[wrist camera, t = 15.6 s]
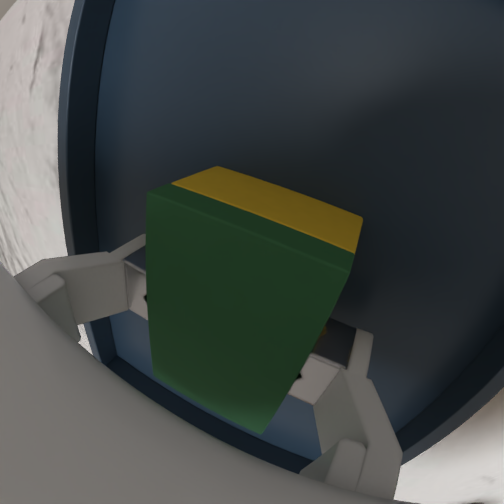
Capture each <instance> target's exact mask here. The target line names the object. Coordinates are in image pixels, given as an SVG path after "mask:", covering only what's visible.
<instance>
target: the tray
mask: <svg viewBox="0 0 504 504" xmlns="http://www.w3.org/2000/svg"><path fill="white" fill-rule="evenodd" d="M216 166H219V167H223V168H226V169H229V170H232V171H236V172H239V173H242V174H245V175H248V176H251V177H254V178H257V179H260V180H263V181H266V182H269V183H272V184H275V185H278V186H281V187H284V188H287V189H289V190H292V191H295V192H298V193H301V194H303V195H306V196H309V197H312V198H314V199H317V200H320V201H322V202H325V203H328V204H330V205H333V206H335V207H338V208H340V209H343V210H346V211H348V212H351V213H353V214H356V215H358V216H361V217H362V218H363V223H362V227H361V231H360V235H359V239H358V243H357V247H356V251H355V255H354V260H353V264H352V267H351V271H350V274H349V277H348V279H347V281H346V283H345V285H344V287H343V290H342V292H341V294H340V296H339V298H338V300H337V302H336V304H335V306H334V308H333V310H332V312H331V314H330V316H329V317H330V318H333V319H335V320H337V321H340V322H342V323H345V324H347V325H350V326H352V327H355V328H359V329H361V330H364V331H367V332H369V333H372V334H373V343H372V350H371V356H370V362H369V367H368V373H367V378H368V379H371V380H372V382H373V385H374V387H375V389H376V391H377V393H378V396H379V398H380V400H381V402H382V405H383V407H384V409H385V412H386V414H387V416H388V419H389V421H390V423H391V426H392V428H393V430H394V433H395V435H396V437H397V440H398V442H399V445H400V447H401V450H402V452H403V455H402V461H401V465H403V464H405V463H406V462H408V461H410V460H411V459H413V458H415V457H416V456H418V455H419V454H421V453H422V452H424V451H426V450H427V449H429V448H430V447H432V446H433V445H434V444H436V443H437V442H439V441H440V440H442V439H443V438H444V437H446V436H447V435H448V434H450V433H451V432H452V431H454V430H455V429H456V428H458V427H459V426H460V425H462V424H463V423H464V422H465V421H467V420H468V419H469V418H470V417H471V416H473V415H474V414H475V413H476V412H477V411H478V410H480V409H481V408H482V407H483V406H484V405H485V404H486V403H487V402H489V401H490V400H491V399H492V398H493V397H494V396H495V395H496V394H497V393H498V392H499V391H500V390H501V389H502V388H503V387H504V0H75V3H74V7H73V11H72V15H71V19H70V24H69V29H68V34H67V39H66V45H65V51H64V58H63V65H62V74H61V83H60V95H59V110H58V172H59V188H60V200H61V210H62V219H63V227H64V234H65V241H66V247H67V253H68V256H73V255H81V254H89V253H97V252H105V251H107V252H108V253H111V252H112V251H114V250H116V249H117V248H119V247H121V246H123V245H124V244H126V243H128V242H130V241H131V240H133V239H135V238H137V237H138V236H140V235H142V234H146V197H147V192H148V191H151V190H153V189H156V188H158V187H161V186H163V185H166V184H168V183H170V184H171V183H172V182H175V181H177V180H180V179H183V178H185V177H188V176H191V175H193V174H196V173H199V172H201V171H204V170H207V169H210V168H213V167H216ZM83 324H84V327H85V331H86V334H87V337H88V341H89V344H90V347H91V350H92V353H93V356H94V357H95V358H96V359H98V360H99V361H100V362H101V363H103V364H104V365H105V366H106V367H108V368H109V369H110V370H111V371H113V372H114V373H115V374H117V375H118V376H119V377H121V378H122V379H123V380H125V381H126V382H127V383H129V384H130V385H131V386H133V387H134V388H136V389H137V390H138V391H140V392H141V393H143V394H144V395H146V396H147V397H148V398H150V399H151V400H153V401H154V402H156V403H157V404H159V405H161V406H162V407H164V408H165V409H167V410H168V411H170V412H172V413H173V414H175V415H176V416H178V417H180V418H181V419H183V420H185V421H186V422H188V423H190V424H192V425H193V426H195V427H197V428H199V429H200V430H202V431H204V432H206V433H208V434H210V435H211V436H213V437H215V438H217V439H219V440H221V441H223V442H225V443H227V444H229V445H231V446H233V447H235V448H237V449H239V450H241V451H243V452H245V453H248V454H250V455H252V456H254V457H257V458H259V459H261V460H263V461H266V462H268V463H271V464H273V465H275V466H278V467H280V468H283V469H286V470H288V471H291V472H294V473H296V474H299V473H300V471H301V470H302V469H304V468H305V467H306V466H308V465H309V464H310V463H312V462H313V461H315V460H316V459H317V458H318V457H320V456H321V455H322V452H321V447H320V442H319V436H318V431H317V426H316V420H315V415H314V410H313V405H311V404H309V403H306V402H304V401H302V400H300V399H297V398H295V397H293V396H291V395H289V394H287V395H286V397H285V398H284V400H283V402H282V403H281V405H280V407H279V408H278V410H277V411H276V413H275V415H274V416H273V418H272V419H271V421H270V422H269V424H268V426H267V427H266V429H265V430H264V432H263V433H262V434H261V435H260V434H258V433H256V432H254V431H251V430H249V429H247V428H245V427H243V426H241V425H239V424H237V423H235V422H233V421H231V420H229V419H227V418H225V417H223V416H221V415H219V414H217V413H215V412H214V411H212V410H210V409H208V408H206V407H204V406H203V405H201V404H199V403H197V402H196V401H194V400H192V399H190V398H189V397H187V396H185V395H184V394H182V393H180V392H179V391H177V390H175V389H174V388H172V387H170V386H169V385H167V384H166V383H164V382H162V381H161V380H159V379H158V378H156V377H155V376H154V375H153V369H152V359H151V350H150V338H149V326H148V320H146V319H145V318H143V317H141V316H140V315H138V314H136V313H135V312H133V311H131V310H130V309H128V310H127V311H124V312H121V313H117V314H114V315H110V316H107V317H104V318H100V319H97V320H94V321H90V322H87V323H83Z"/></svg>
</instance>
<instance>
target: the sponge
mask: <svg viewBox="0 0 504 504" xmlns="http://www.w3.org/2000/svg"><path fill="white" fill-rule="evenodd" d="M362 223H363V218H362V217H361V216H358V215H356V214H353V213H351V212H348V211H346V210H343V209H340V208H338V207H335V206H333V205H330V204H328V203H325V202H322V201H320V200H317V199H314V198H312V197H309V196H306V195H303V194H301V193H298V192H295V191H292V190H289V189H287V188H284V187H281V186H278V185H275V184H272V183H269V182H266V181H263V180H260V179H257V178H254V177H251V176H248V175H245V174H242V173H239V172H236V171H232V170H229V169H226V168H223V167H219V166H216V167H213V168H210V169H207V170H204V171H201V172H199V173H196V174H193V175H191V176H188V177H185V178H183V179H180V180H177V181H175V182H172V183H171V184H170V183H168V184H166V185H163V186H161V187H158V188H156V189H153V190H151V191H148V192H147V197H146V291H147V311H148V326H149V338H150V350H151V359H152V369H153V375H154V376H155V377H156V378H158V379H159V380H161V381H162V382H164V383H166V384H167V385H169V386H170V387H172V388H174V389H175V390H177V391H179V392H180V393H182V394H184V395H185V396H187V397H189V398H190V399H192V400H194V401H196V402H197V403H199V404H201V405H203V406H204V407H206V408H208V409H210V410H212V411H214V412H215V413H217V414H219V415H221V416H223V417H225V418H227V419H229V420H231V421H233V422H235V423H237V424H239V425H241V426H243V427H245V428H247V429H249V430H251V431H254V432H256V433H258V434H260V435H261V434H262V433H263V432H264V430H265V429H266V427H267V426H268V424H269V422H270V421H271V419H272V418H273V416H274V415H275V413H276V411H277V410H278V408H279V407H280V405H281V403H282V402H283V400H284V398H285V397H286V395H287V393H288V392H289V390H290V388H291V387H292V385H293V383H294V381H295V380H296V378H297V376H298V374H299V373H300V371H301V369H302V367H303V366H304V364H305V362H306V360H307V358H308V357H309V355H310V353H311V351H312V349H313V347H314V345H315V344H316V342H317V340H318V338H319V336H320V334H321V332H322V330H323V328H324V326H325V324H326V322H327V320H328V318H329V316H330V314H331V312H332V310H333V308H334V306H335V304H336V302H337V300H338V298H339V296H340V294H341V292H342V290H343V287H344V285H345V283H346V281H347V279H348V277H349V274H350V271H351V267H352V264H353V260H354V255H355V251H356V247H357V243H358V239H359V235H360V231H361V227H362Z"/></svg>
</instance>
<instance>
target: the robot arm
mask: <svg viewBox="0 0 504 504" xmlns="http://www.w3.org/2000/svg"><path fill="white" fill-rule="evenodd" d="M128 309H130V310H131V311H133V312H135V313H136V314H138V315H140V316H141V317H143V318H145V319H146V320H148V311H147V291H146V234H142V235H140V236H138V237H137V238H135V239H133V240H131V241H130V242H128V243H126V244H124V245H123V246H121V247H119V248H117V249H116V250H114V251H112V252H111V253H108V252H107V251H105V252H97V253H89V254H81V255H73V256H65V257H57V258H49V259H42V260H41V261H39V262H37V263H36V264H34V265H32V266H31V267H29V268H27V269H26V270H24V271H22V272H21V273H19V274H17V275H16V276H14V277H13V276H12V275H11V273H10V272H9V271H8V270H7V269H6V267H5V266H4V265H3V264H2V262H1V261H0V504H419V503H411V502H404V501H398V500H393V499H394V494H395V490H396V486H397V481H398V477H399V472H400V467H401V461H402V455H403V452H402V450H401V447H400V445H399V442H398V440H397V437H396V435H395V433H394V430H393V428H392V426H391V423H390V421H389V419H388V416H387V414H386V412H385V409H384V407H383V405H382V402H381V400H380V398H379V396H378V393H377V391H376V389H375V387H374V385H373V382H372V380H371V379H368V378H367V373H368V367H369V362H370V356H371V350H372V343H373V334H372V333H369V332H367V331H364V330H361V329H359V328H355V327H352V326H350V325H347V324H345V323H342V322H340V321H337V320H335V319H333V318H330V317H329V318H328V320H327V322H326V324H325V326H324V328H323V330H322V332H321V334H320V336H319V338H318V340H317V342H316V344H315V345H314V347H313V349H312V351H311V353H310V355H309V357H308V358H307V360H306V362H305V364H304V366H303V367H302V369H301V371H300V373H299V374H298V376H297V378H296V380H295V381H294V383H293V385H292V387H291V388H290V390H289V392H288V393H287V394H289V395H291V396H293V397H295V398H297V399H300V400H302V401H304V402H306V403H309V404H311V405H313V410H314V415H315V420H316V426H317V431H318V436H319V442H320V447H321V452H322V455H321V456H320V457H318V458H317V459H316V460H315V461H313V462H312V463H310V464H309V465H308V466H306V467H305V468H304V469H302V470H301V471H300V473H299V474H296V473H294V472H291V471H288V470H286V469H283V468H280V467H278V466H275V465H273V464H271V463H268V462H266V461H263V460H261V459H259V458H257V457H254V456H252V455H250V454H248V453H245V452H243V451H241V450H239V449H237V448H235V447H233V446H231V445H229V444H227V443H225V442H223V441H221V440H219V439H217V438H215V437H213V436H211V435H210V434H208V433H206V432H204V431H202V430H200V429H199V428H197V427H195V426H193V425H192V424H190V423H188V422H186V421H185V420H183V419H181V418H180V417H178V416H176V415H175V414H173V413H172V412H170V411H168V410H167V409H165V408H164V407H162V406H161V405H159V404H157V403H156V402H154V401H153V400H151V399H150V398H148V397H147V396H146V395H144V394H143V393H141V392H140V391H138V390H137V389H136V388H134V387H133V386H131V385H130V384H129V383H127V382H126V381H125V380H123V379H122V378H121V377H119V376H118V375H117V374H115V373H114V372H113V371H111V370H110V369H109V368H108V367H106V366H105V365H104V364H103V363H101V362H100V361H99V360H98V359H96V358H95V357H94V356H93V355H92V354H90V353H89V352H88V351H87V350H86V349H85V348H83V347H82V346H81V345H80V344H79V343H78V342H79V341H80V339H81V336H80V333H79V330H78V326H77V325H80V324H83V323H87V322H90V321H94V320H97V319H100V318H104V317H107V316H110V315H114V314H117V313H121V312H124V311H127V310H128Z"/></svg>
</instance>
